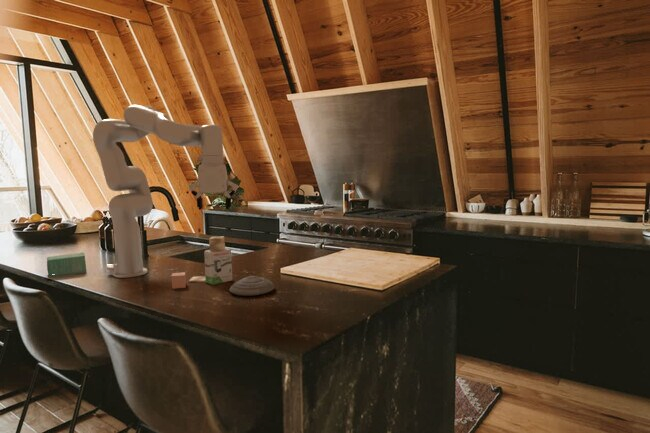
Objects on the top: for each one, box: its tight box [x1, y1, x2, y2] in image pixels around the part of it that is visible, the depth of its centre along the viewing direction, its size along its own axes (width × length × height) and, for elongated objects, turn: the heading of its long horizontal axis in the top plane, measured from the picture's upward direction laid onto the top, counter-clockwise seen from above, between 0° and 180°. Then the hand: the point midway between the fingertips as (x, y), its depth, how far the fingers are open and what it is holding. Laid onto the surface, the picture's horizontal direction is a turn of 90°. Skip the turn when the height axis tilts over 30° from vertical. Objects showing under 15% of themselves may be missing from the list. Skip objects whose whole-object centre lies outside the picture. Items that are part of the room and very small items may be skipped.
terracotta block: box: [170, 271, 187, 289], centre depth 164 cm, size 4×4×4 cm
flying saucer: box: [228, 275, 276, 297], centre depth 156 cm, size 15×15×6 cm
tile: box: [188, 275, 206, 283], centre depth 173 cm, size 6×6×1 cm
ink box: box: [203, 247, 233, 286], centre depth 169 cm, size 9×5×12 cm, turn 136°
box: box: [46, 252, 87, 279], centre depth 188 cm, size 7×14×8 cm, turn 121°
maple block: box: [208, 235, 226, 251], centre depth 168 cm, size 4×4×4 cm
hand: (214, 209), depth 167 cm, fingers open, 9 cm apart
